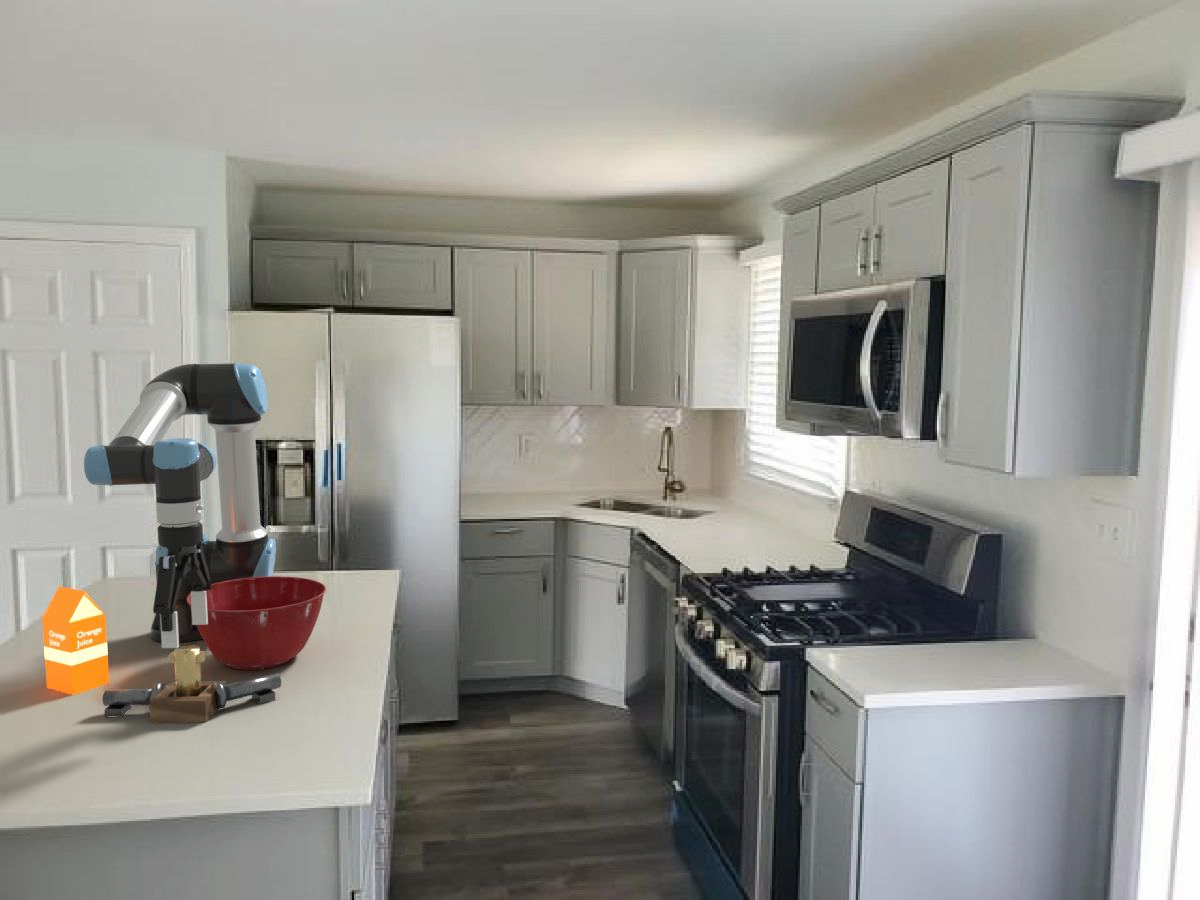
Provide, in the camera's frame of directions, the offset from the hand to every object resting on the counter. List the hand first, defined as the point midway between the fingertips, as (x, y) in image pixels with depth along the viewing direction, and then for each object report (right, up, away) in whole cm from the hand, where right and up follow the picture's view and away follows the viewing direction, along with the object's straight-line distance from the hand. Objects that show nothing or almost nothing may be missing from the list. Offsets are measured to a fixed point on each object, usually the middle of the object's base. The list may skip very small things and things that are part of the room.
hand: (185, 635), depth 170 cm
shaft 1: (-10, -15, +1) cm, 18 cm away
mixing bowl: (+3, -12, +30) cm, 33 cm away
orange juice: (-29, -13, +15) cm, 35 cm away
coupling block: (0, -15, +1) cm, 15 cm away
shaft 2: (+9, -14, +6) cm, 18 cm away
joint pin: (0, -15, +2) cm, 15 cm away
